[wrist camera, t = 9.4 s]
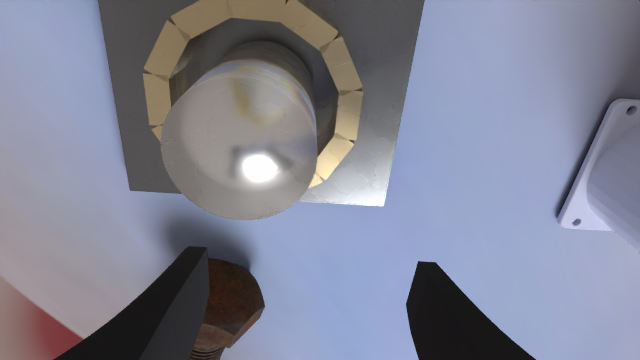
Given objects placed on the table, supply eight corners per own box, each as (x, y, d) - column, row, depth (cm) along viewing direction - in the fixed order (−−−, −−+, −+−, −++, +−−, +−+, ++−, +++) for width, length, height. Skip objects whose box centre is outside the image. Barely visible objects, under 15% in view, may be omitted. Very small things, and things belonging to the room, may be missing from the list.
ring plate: (425, -35, 17) (450, -36, 14) (380, 197, 23) (391, 232, 20) (98, -70, 16) (48, -79, 13) (137, 181, 22) (108, 216, 19)
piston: (318, 45, 18) (324, 84, 11) (310, 146, 20) (311, 223, 14) (207, 36, 17) (151, 71, 11) (212, 139, 20) (168, 215, 13)
